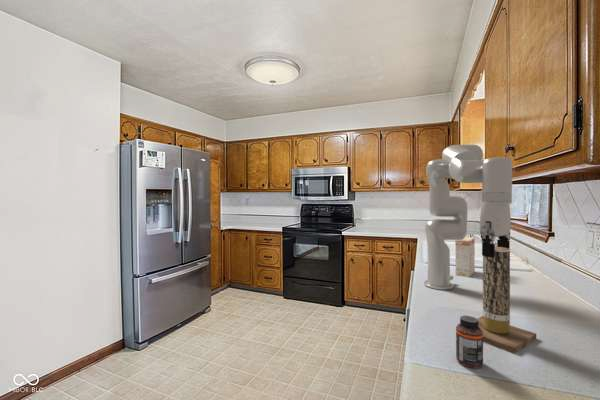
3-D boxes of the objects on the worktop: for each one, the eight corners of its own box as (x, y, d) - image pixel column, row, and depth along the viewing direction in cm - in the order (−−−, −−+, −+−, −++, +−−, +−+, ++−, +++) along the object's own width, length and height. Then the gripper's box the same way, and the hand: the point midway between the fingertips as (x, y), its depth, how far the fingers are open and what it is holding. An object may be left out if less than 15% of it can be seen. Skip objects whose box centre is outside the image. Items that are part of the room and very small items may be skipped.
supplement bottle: (459, 353, 78) (459, 311, 78) (485, 362, 74) (485, 317, 74) (453, 363, 73) (453, 318, 73) (480, 372, 69) (480, 325, 69)
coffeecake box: (461, 269, 168) (461, 236, 168) (475, 271, 163) (475, 237, 163) (454, 275, 157) (454, 239, 157) (469, 277, 152) (469, 240, 152)
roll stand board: (482, 320, 98) (482, 316, 98) (536, 338, 86) (536, 333, 86) (458, 332, 90) (458, 327, 90) (514, 353, 78) (514, 348, 78)
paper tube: (498, 324, 92) (499, 246, 92) (515, 335, 85) (515, 250, 85) (477, 325, 92) (478, 246, 91) (492, 335, 85) (493, 250, 85)
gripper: (496, 198, 96) (495, 249, 96) (468, 198, 86) (468, 256, 87) (523, 198, 89) (522, 253, 90) (497, 199, 80) (496, 260, 80)
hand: (495, 254), depth 88 cm, fingers open, 9 cm apart
